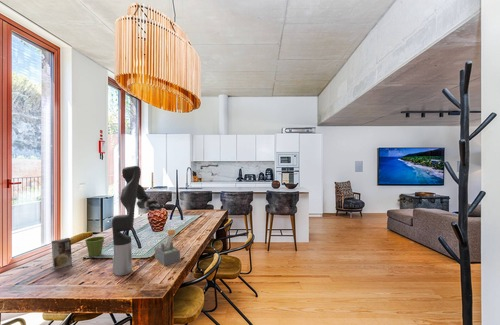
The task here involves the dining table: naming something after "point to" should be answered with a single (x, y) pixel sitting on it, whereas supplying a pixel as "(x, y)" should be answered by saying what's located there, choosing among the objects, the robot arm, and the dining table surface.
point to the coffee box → (61, 253)
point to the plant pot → (94, 245)
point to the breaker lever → (169, 238)
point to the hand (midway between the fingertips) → (159, 208)
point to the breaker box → (167, 254)
